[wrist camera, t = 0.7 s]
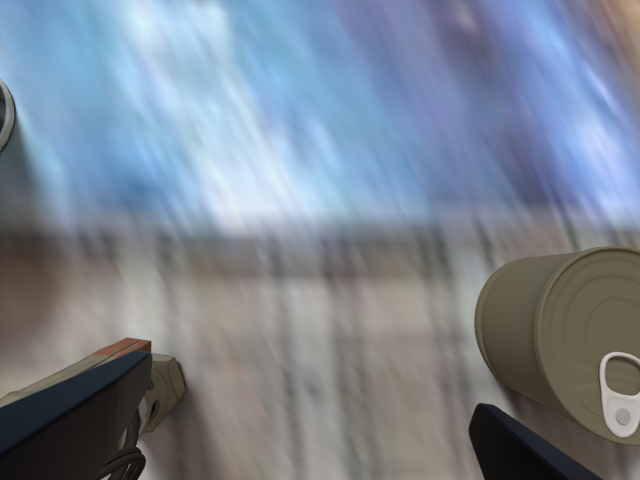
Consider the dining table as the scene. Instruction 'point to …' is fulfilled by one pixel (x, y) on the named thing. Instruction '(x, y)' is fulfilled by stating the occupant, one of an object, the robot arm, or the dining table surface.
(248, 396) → the dining table surface
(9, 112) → the coffee can
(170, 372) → the grenade model
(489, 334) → the can
